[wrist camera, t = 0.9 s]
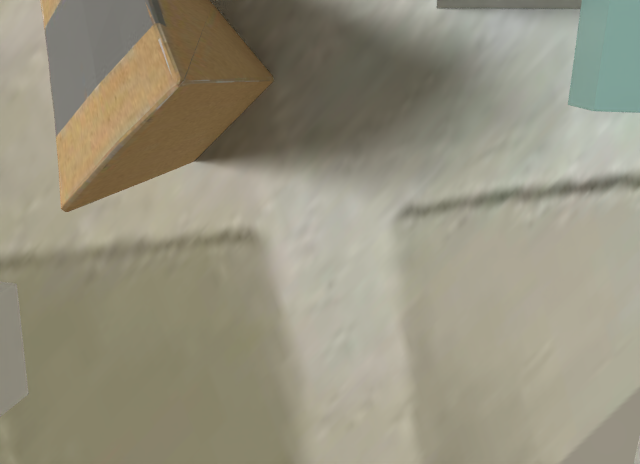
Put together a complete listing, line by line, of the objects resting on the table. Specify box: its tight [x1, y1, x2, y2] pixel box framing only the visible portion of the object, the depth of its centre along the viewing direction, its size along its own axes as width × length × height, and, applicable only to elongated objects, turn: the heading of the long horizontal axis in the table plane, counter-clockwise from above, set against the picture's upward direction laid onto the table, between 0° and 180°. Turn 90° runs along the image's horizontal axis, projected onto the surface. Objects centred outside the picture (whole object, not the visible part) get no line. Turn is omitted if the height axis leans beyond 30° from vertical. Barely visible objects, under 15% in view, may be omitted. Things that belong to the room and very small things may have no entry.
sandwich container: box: [40, 0, 274, 212], centre depth 31 cm, size 9×15×15 cm, turn 43°
